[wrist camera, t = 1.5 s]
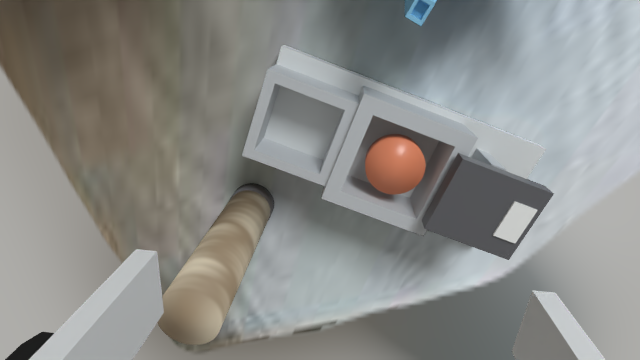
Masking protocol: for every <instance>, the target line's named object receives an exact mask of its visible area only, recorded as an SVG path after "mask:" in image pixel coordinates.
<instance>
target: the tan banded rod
mask: <svg viewBox="0 0 640 360" xmlns="http://www.w3.org/2000/svg"><path fill="white" fill-rule="evenodd" d="M273 208H274V201H273V197H272V195H271V194H270V192H269V191H268V190H267V189H265V188H264V187H262V186H260V185H257V184H245V185H242V186H241V187H239V188H238V189H237V190H236V191H235V193H234V194H233V196H232V197H231V199H230V200H229V202H228V204H227V205H226V206H225V208H224V209H223V211H222V212H221V214H220V215H219V216H218V218H217V219H216V221H215V222H214V224H213V225H212V226H211V228H210V229H209V231H208V232H207V234H206V235H205V236H204V238H203V239H202V241H201V242H200V244H199V245H198V246H197V248H196V249H195V251H194V252H193V253H192V255H191V256H190V258H189V259H188V261H187V262H186V263H185V265H184V266H183V268H182V269H181V271H180V272H179V273H178V275H177V276H176V278H175V279H174V281H173V282H172V283H171V285H170V286H169V288H168V289H167V291H166V292H165V293H164V295H163V296H162V299H163V308H164V313H163V314H162V316H161V318H160V319H159V321H158V322H157V323H158V325H159V327H160V328H161V329H162V331H163V332H164V333H165V334H167V335H168V336H169V337H171V338H172V339H174V340H176V341H178V342H181V343H184V344H189V345H200V344H205V343H208V342H210V341H212V340H213V339H214V338H215V337H216V336H217V335H218V333H219V331H220V329H221V326H222V324H223V322H224V320H225V317H226V315H227V313H228V310H229V308H230V306H231V304H232V301H233V299H234V297H235V294H236V292H237V290H238V288H239V285H240V283H241V281H242V278H243V276H244V274H245V272H246V269H247V267H248V265H249V262H250V260H251V258H252V256H253V253H254V251H255V249H256V247H257V244H258V242H259V240H260V237H261V235H262V233H263V231H264V228H265V226H266V224H267V222H268V220H269V218H270V216H271V214H272V211H273Z"/></svg>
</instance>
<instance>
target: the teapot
mask: <svg viewBox="0 0 640 360" xmlns="http://www.w3.org/2000/svg"><path fill="white" fill-rule="evenodd" d="M436 1H437V0H405V17H406V18H408V19H409V20H411V21H413V22H414V23H416V24H418V25H420V26H422V24H423V23H424V21H425V20H426V18H427V16H428V15H429V13H430V11H431V10H432V8H433V6H434V5H435V2H436Z"/></svg>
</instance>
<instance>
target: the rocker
mask: <svg viewBox="0 0 640 360" xmlns="http://www.w3.org/2000/svg"><path fill="white" fill-rule="evenodd" d="M552 196H553V193H552V192H551V191H550V190H549V189H548V188H546V187H545V186H543V185H541V184H538V183H536V182H533V181H530V180H528V179H525V178H523V177H520V176H517V175H515V174H512V173H510V172H507V171H504V170H502V169H499V168H497V167H494V166H491V165H489V164H486V163H484V162H481V161H478V160H476V159H473V158H471V157H468V156H465V155H463V154H460V153H458V154H457V156H456V157H455V159H454V161H453V163H452V165H451V167H450V168H449V170H448V172H447V174H446V176H445V178H444V180H443V181H442V183H441V185H440V187H439V189H438V191H437V192H436V194H435V196H434V198H433V200H432V202H431V203H430V205H429V207H428V209H427V211H426V213H425V215H424V216H423V218H422V223H423V226H424V229H426V230H429V231H432V232H434V233H437V234H440V235H442V236H445V237H448V238H450V239H453V240H456V241H459V242H461V243H464V244H467V245H469V246H472V247H475V248H478V249H480V250H483V251H486V252H488V253H491V254H494V255H496V256H499V257H502V258H505V259H507V260H509V259H510V257H511V256H512V254H513V253H514V251H515V250H516V249H517V247H518V246H519V244H520V243H521V241H522V240H523V238H524V237H525V235H526V234H527V232H528V231H529V229H530V228H531V227H532V225H533V224H534V222H535V221H536V219H537V218H538V216H539V215H540V213H541V212H542V210H543V209H544V207H545V206H546V204H547V203H548V202H549V200H550V199H551V197H552Z"/></svg>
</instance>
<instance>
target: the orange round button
mask: <svg viewBox="0 0 640 360" xmlns="http://www.w3.org/2000/svg"><path fill="white" fill-rule="evenodd" d="M425 167H426V163H425V158H424V155H423V153H422V151H421V149H420V148H419V146H418V144H417V143H416V142H415V141H414V140H412V139H411V138H409V137H407V136H405V135H401V134H389V135H385V136H382V137H380V138H379V139H377V140H376V141H375V142H373V143H372V145H371V146H370V147H369V149H368V151H367V153H366V157H365V170H366V175H367V178H368V180H369V182H370V183H371V184H372V186H373V187H375V188H376V189H377V190H379V191H381V192H383V193H386V194H394V195H395V194H402V193H406V192H408V191H410V190H412V189H413V188H414V187H416V186H417V185H418V184H419V182H420V181H421V180H422V178H423V176H424V173H425Z"/></svg>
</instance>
